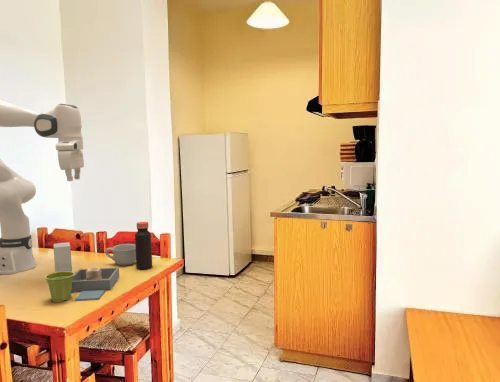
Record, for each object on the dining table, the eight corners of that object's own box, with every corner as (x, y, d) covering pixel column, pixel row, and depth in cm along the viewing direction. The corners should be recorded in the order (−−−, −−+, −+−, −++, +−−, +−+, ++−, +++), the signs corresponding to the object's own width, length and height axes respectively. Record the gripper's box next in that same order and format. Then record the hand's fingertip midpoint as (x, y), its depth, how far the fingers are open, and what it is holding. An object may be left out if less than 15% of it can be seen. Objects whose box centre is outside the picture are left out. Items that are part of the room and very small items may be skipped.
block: (86, 286, 160) (85, 271, 159) (90, 283, 164) (89, 268, 163) (98, 286, 160) (98, 270, 159) (101, 282, 165) (101, 267, 164)
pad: (75, 300, 145) (75, 299, 145) (82, 292, 153) (82, 291, 153) (99, 299, 146) (99, 297, 146) (104, 291, 154) (104, 290, 154)
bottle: (135, 270, 180) (133, 224, 177) (137, 265, 186) (135, 221, 184) (151, 269, 181) (149, 223, 178) (152, 265, 187) (151, 220, 185)
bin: (66, 292, 154) (66, 281, 153) (79, 279, 169) (79, 269, 169) (110, 290, 155) (109, 279, 155) (119, 277, 171) (118, 267, 170)
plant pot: (52, 294, 151) (51, 271, 150) (79, 293, 152) (78, 270, 151) (42, 304, 142) (40, 279, 141) (70, 303, 143) (69, 278, 142)
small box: (72, 276, 172) (70, 245, 171) (55, 279, 169) (53, 247, 168) (71, 271, 179) (69, 241, 178) (55, 273, 177) (53, 243, 175)
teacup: (141, 260, 195) (140, 243, 194) (132, 267, 184) (131, 249, 183) (112, 260, 196) (111, 243, 195) (102, 267, 186) (101, 249, 185)
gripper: (70, 145, 176) (73, 178, 177) (53, 145, 156) (57, 182, 157) (86, 145, 177) (88, 178, 178) (71, 145, 156) (74, 181, 158)
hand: (73, 180), depth 167 cm, fingers open, 8 cm apart
